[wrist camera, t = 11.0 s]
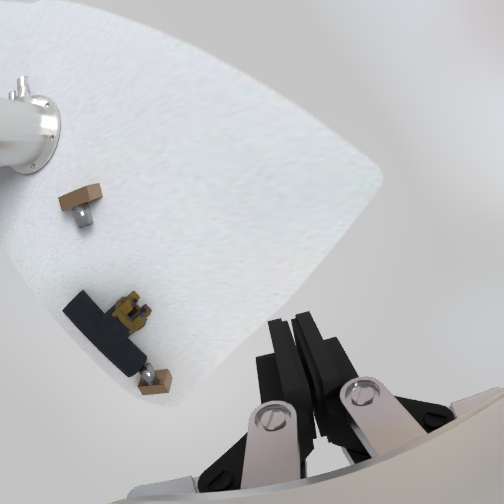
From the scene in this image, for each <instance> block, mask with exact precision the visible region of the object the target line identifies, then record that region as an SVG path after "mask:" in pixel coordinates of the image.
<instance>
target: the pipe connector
mask: <svg viewBox="0 0 504 504" xmlns="http://www.w3.org/2000/svg"><path fill="white" fill-rule="evenodd" d="M139 298H140V297H139V296H138V295H137V294H136V293H135V291H133V292H132V293H131V294H130V295H128V296H127V297H122V298H121V299H120V300H118V301H117V302H116V304H115V305H114V306H113V307H112V308H111V309H109V310H108V311H107V312H106V313H105V314H104V313H103V312H102V310H101V309H100V308H99V307H98V306H97V305H96V304H95V303H94V302H93V300H92V299H91V298H90V297H89V296H88V295H87V294H86V292H85V291H84V290H82V291H81V292H80V293H79V294H78V295H77V296H76V297H75V298H74V299H73V300H72V301H71V302H70V303H69V304H68V305H67V306H66V307H65V308H64V309H63V310H62V311H63V312H64V313H65V314H66V316H67V317H68V318H69V319H70V320H71V321H72V322H73V323H74V324H75V326H76V327H77V328H78V329H79V330H80V331H81V332H82V333H83V334H84V335H85V336H86V337H87V338H88V339H89V340H90V341H91V342H92V343H93V344H94V345H95V346H96V347H97V348H98V349H99V350H100V351H101V352H102V353H103V354H104V355H105V356H106V357H107V358H108V359H109V360H110V361H111V362H112V363H113V364H114V365H115V366H116V367H117V368H119V369H120V370H121V371H122V372H123V373H124V374H125V375H126V376H127V377H131V376H133V375H135V374H136V373H137V372H138V371H139V370H140V369H141V368H142V367H143V365H144V364H145V362H146V360H147V356H146V355H145V354H144V353H143V352H142V351H141V350H140V349H139V348H138V347H137V346H136V345H135V344H133V343H132V342H131V341H130V340H129V339H128V338H127V337H128V336H130V335H131V334H132V333H134V332H135V331H137V330H139V329H141V328H142V327H144V325H145V323H146V321H147V318H146V317H147V316H148V315H150V313H151V311H152V310H151V309H150V308H149V307H148V306H147V305H146V304H145V305H144V306H143V307H141V308H140V307H139V306H138V305H137V304H136V302H137V301H138V300H139Z"/></svg>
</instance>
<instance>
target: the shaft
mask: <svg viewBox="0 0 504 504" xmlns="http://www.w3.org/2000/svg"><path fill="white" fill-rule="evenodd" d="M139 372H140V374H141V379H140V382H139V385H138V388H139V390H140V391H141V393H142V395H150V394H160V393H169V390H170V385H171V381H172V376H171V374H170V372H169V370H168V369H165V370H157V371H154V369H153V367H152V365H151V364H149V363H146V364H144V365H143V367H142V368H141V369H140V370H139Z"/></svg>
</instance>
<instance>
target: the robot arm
mask: <svg viewBox="0 0 504 504" xmlns="http://www.w3.org/2000/svg"><path fill="white" fill-rule="evenodd" d="M17 87H18V96H17V98H16V91H11V92H10V93H9V99H5V98H0V167H3V166H10V167H11V168H12V169H13V170H14V171H16V172H18V173H21V174H29V173H34V172H36V171H38V170H39V169H41V168H42V167H43V166H44V165H45V164H46V163H47V162H48V161H49V159H50V158H51V156H52V155H53V153H54V151H55V149H56V146H57V143H58V140H59V135H60V115H59V111H58V109H57V107H56V105H55V103H54V102H53V101H52V100H51V99H49V98H48V97H45V96H41V95H33V96H30V92H28V77H27V76H22V77H20V78H19V79H18V80H17ZM16 100H17V101H16ZM291 322H292V327H293V332H294V338H295V342H294V339H293V336H292V333H291V330H290V327H289V324H288V322H287V321H283V322H282V320H281V318H280V319H276V320H272V321H268V325H269V330H270V334H271V339H272V343H273V348H274V352H275V353H272V354H267V355H263V356H258V357H256V365H257V373H258V379H259V380H258V381H259V389H260V396H261V405H260V406H258V407H257V408H256V409H255V410H254V411H253V412H252V413H251V416H250V419H249V426H248V432H247V433H246V434H245V435H244V436H243V437H242V438H241V439H240V440H239V441H238V442H237V443H236V444H235V445H233V447H231V448H230V449H229V450H228V451H227V452H226V453H225V454H224V455H222V456H221V457H220V458H219V459H218V460H217V461H216V462H214V463H213V464H212V465H211V466H210V467H209V468H208V469H206V470H205V471H204V472H203V473H202V474H201V475H200V476H199V477H195V478H192V476H188V477H184V478H179V479H174V480H170V481H164V482H159V483H153V484H147V485H141V486H137V487H135V488H134V489H132V490H131V491H130V492H129V494H128V495H127V499H122V500H119V501H115V502H112V503H109V504H504V388H499V387H497V388H492V389H490V390H487V391H484V392H482V393H479V394H476V395H474V396H471V397H468V398H465V399H462V400H459V401H456V402H453V403H451V406H449V407H446V406H442V405H439V404H433V403H428V402H422V401H417V400H412V399H407V398H402V397H397V396H393V395H392V394H391V393H390V391H389V390H388V389H387V388H386V387H385V386H384V385H383V384H382V383H381V382H380V381H378V380H377V379H375V378H372V377H359V376H358V375H357V373H356V371H355V369H354V367H353V365H352V364H351V362H350V360H349V358H348V356H347V355H346V353H345V351H344V349H343V348H342V346H341V344H340V342H339V341H338V339H337V337H333V338H330V339H326V340H323V339H322V336H321V334H320V332H319V330H318V328H317V326H316V324H315V322H314V320H313V318H312V316H311V314H310V312H309V311H308V312H304V313H300V314H296V318H295V319H291ZM295 343H296V345H295ZM313 413H314V415H313ZM314 416H315V419H316V422H317V425H318V428H319V432H320V435H321V437H323V436H327V439H328V442H329V443H330V442H332V443H333V444H335V445H338V446H341V447H342V451H343V453H344V454H345V456H346V458H347V459H348V461H349V463H350V464H351V466H348V467H345V468H342V469H339V470H335V471H332V472H328V473H324V474H321V475H317V476H313V477H309V478H307V462H306V458H307V456H308V455H309V454H310V453H311V452H312V450H313V449H314V445H313V439H316V438H317V436H316V429H315V422H314Z"/></svg>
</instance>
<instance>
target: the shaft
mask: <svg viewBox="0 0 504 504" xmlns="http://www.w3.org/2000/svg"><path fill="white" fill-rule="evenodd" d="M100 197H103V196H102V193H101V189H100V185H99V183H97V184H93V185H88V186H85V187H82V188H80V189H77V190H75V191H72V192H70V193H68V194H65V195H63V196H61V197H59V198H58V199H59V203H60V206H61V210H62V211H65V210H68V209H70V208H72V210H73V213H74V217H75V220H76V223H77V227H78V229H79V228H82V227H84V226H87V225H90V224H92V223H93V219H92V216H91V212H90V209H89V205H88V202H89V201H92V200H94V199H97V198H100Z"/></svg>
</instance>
